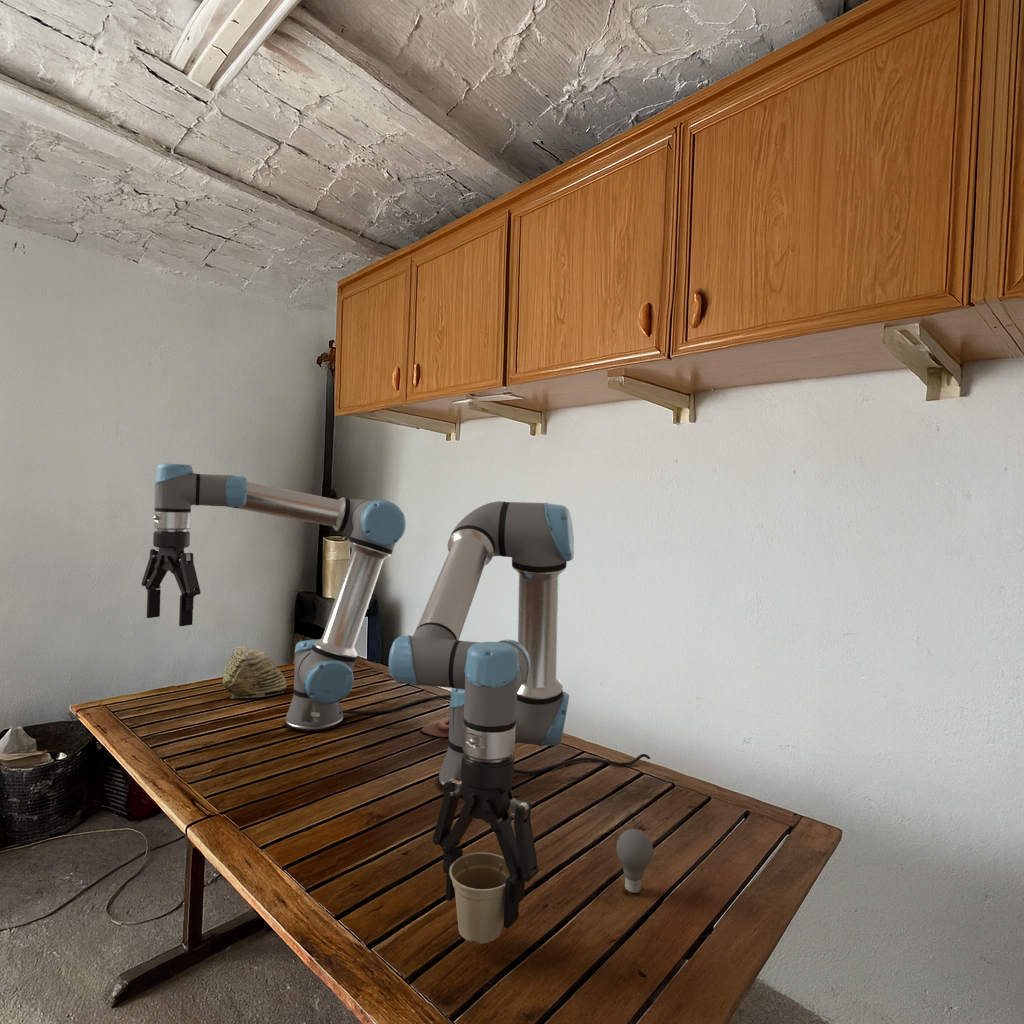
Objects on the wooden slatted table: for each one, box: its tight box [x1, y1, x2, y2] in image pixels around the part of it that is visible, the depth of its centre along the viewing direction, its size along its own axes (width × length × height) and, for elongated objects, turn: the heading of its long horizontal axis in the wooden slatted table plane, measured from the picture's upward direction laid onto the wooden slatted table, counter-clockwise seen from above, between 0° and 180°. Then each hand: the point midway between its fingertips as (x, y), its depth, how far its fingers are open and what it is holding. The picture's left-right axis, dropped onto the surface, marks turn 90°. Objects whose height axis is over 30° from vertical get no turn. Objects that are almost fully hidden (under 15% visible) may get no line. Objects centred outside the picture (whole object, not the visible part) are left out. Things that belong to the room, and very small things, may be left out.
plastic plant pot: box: [449, 851, 510, 945], centre depth 91 cm, size 9×9×9 cm
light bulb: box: [615, 828, 654, 894], centre depth 106 cm, size 6×6×10 cm
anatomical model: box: [420, 716, 450, 738], centre depth 175 cm, size 13×4×12 cm
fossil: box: [222, 646, 288, 699], centre depth 198 cm, size 9×18×15 cm, turn 132°
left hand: (169, 621), depth 147 cm, fingers open, 13 cm apart
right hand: (481, 908), depth 91 cm, fingers closed on plastic plant pot, 9 cm apart
